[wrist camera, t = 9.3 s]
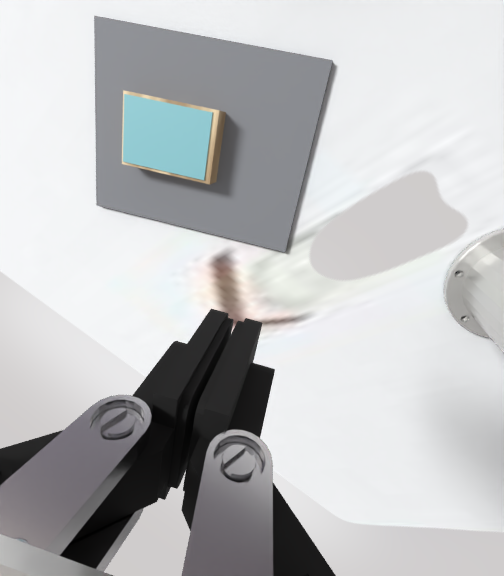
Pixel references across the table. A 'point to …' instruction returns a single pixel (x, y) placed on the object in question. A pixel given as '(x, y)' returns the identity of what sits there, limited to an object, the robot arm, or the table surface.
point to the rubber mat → (236, 135)
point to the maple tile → (171, 137)
